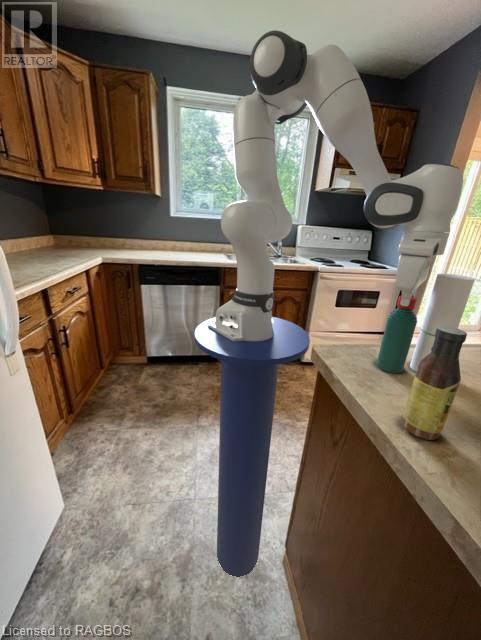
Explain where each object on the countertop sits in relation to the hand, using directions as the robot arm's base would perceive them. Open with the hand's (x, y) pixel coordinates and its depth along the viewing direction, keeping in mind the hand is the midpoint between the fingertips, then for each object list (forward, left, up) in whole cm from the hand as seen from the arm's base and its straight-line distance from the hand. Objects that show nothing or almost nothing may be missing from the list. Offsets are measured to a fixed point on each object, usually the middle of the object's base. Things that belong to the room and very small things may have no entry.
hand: (406, 303), depth 66 cm
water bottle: (0, 0, -18) cm, 18 cm away
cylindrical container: (+8, +5, -18) cm, 20 cm away
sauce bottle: (+10, -22, -18) cm, 30 cm away
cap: (0, 0, +1) cm, 1 cm away
